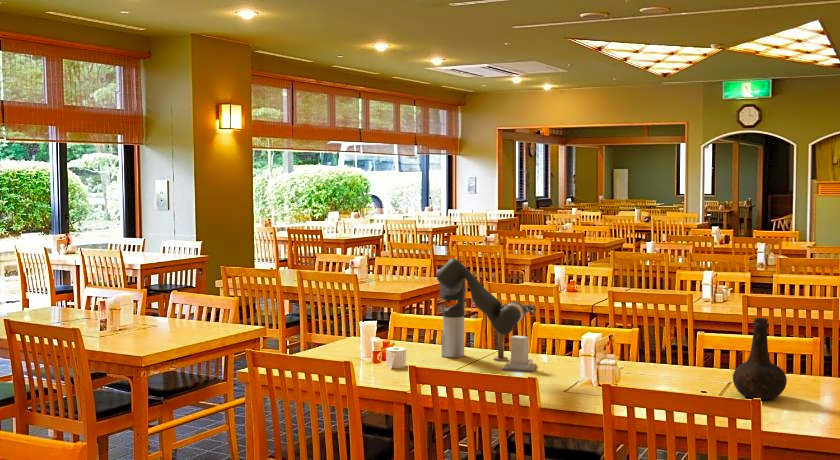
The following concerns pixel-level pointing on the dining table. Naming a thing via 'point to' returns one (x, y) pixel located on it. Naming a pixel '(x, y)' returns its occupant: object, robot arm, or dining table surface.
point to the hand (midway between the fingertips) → (518, 306)
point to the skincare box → (519, 350)
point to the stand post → (500, 349)
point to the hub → (520, 366)
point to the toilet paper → (395, 357)
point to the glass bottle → (759, 368)
